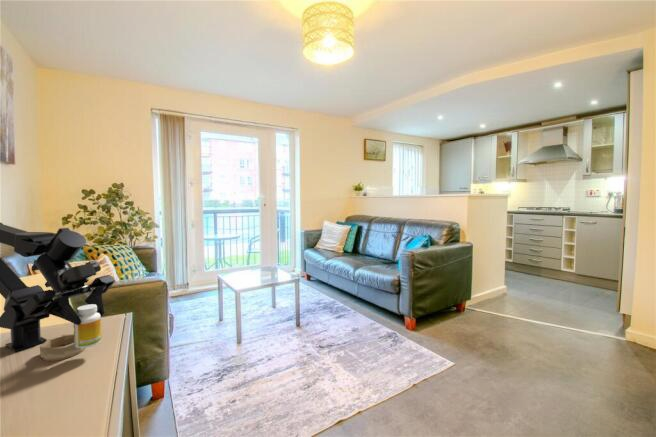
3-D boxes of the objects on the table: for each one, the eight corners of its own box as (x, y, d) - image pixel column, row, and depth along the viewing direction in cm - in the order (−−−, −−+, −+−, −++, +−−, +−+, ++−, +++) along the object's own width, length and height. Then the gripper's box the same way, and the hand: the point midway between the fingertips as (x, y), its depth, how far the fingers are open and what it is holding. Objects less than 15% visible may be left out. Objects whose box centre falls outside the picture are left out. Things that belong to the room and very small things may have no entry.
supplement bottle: (106, 340, 78) (105, 304, 77) (84, 350, 73) (83, 312, 72) (91, 337, 79) (90, 301, 79) (68, 347, 74) (67, 309, 74)
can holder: (35, 355, 76) (35, 344, 76) (74, 341, 84) (74, 331, 84) (52, 364, 73) (51, 352, 72) (91, 348, 80) (91, 337, 80)
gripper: (28, 259, 67) (66, 314, 64) (109, 246, 85) (141, 289, 82) (6, 290, 69) (42, 343, 67) (89, 271, 87) (119, 312, 85)
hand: (91, 319), depth 75 cm, fingers closed on supplement bottle, 5 cm apart
